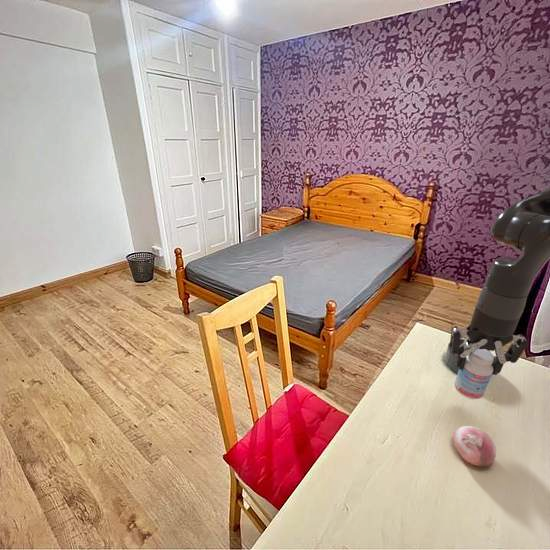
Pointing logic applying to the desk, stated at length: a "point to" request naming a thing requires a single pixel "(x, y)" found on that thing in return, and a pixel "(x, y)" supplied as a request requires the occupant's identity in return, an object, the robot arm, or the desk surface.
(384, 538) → the desk surface
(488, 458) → the onion
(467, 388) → the pill bottle
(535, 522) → the desk surface
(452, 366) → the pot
